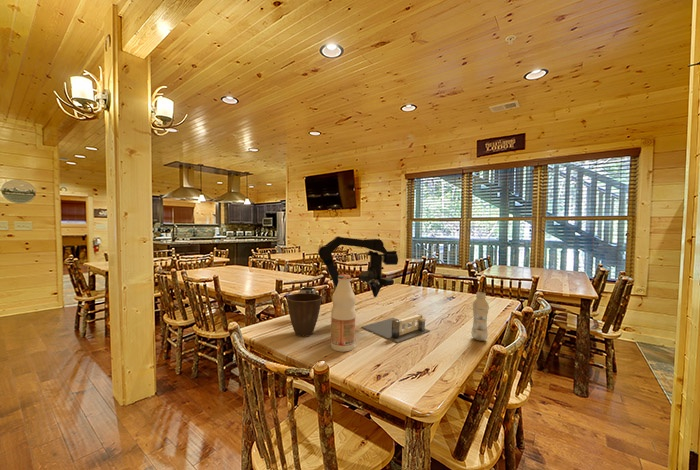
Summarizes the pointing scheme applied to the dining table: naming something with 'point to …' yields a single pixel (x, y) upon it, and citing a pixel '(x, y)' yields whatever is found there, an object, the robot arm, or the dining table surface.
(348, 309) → the fruit juice
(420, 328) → the post
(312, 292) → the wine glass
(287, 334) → the dining table surface
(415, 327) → the gate
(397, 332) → the hinge post
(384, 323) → the mat
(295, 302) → the plant pot
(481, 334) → the plastic bottle
